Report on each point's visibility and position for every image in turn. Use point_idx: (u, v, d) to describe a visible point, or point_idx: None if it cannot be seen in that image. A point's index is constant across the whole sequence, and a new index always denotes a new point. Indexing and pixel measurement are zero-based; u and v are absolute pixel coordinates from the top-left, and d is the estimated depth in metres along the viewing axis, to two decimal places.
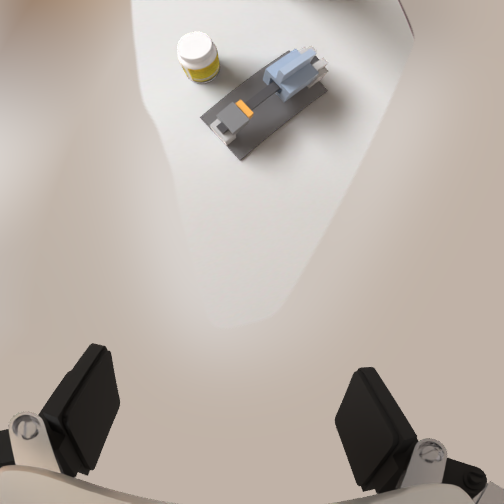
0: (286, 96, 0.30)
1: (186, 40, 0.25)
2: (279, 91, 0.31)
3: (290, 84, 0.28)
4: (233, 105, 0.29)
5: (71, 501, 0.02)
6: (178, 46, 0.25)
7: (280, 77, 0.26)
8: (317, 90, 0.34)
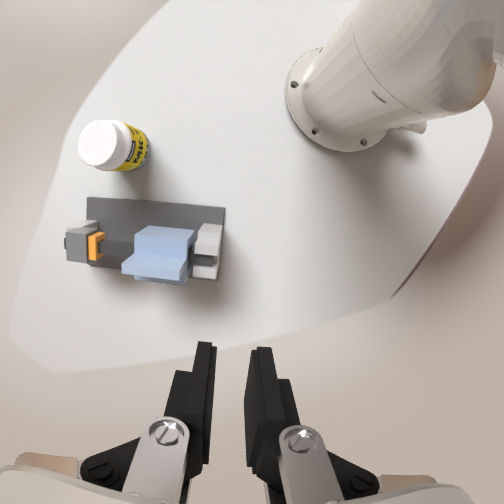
0: None
1: (95, 129, 0.19)
2: None
3: None
4: (83, 238, 0.23)
5: (71, 501, 0.02)
6: (84, 129, 0.19)
7: None
8: None
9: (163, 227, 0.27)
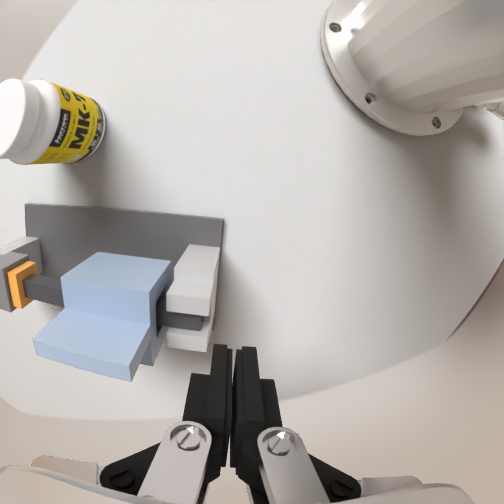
0: None
1: (0, 95, 0.08)
2: None
3: None
4: (1, 275, 0.12)
5: (71, 501, 0.02)
6: None
7: None
8: None
9: (119, 256, 0.15)
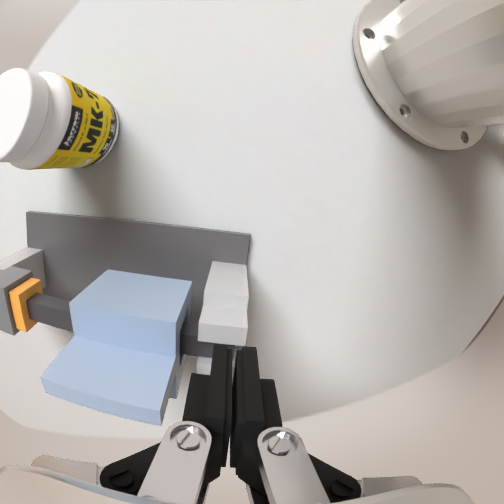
0: None
1: (1, 87, 0.06)
2: None
3: None
4: (2, 294, 0.10)
5: (71, 501, 0.02)
6: None
7: None
8: None
9: (133, 275, 0.14)
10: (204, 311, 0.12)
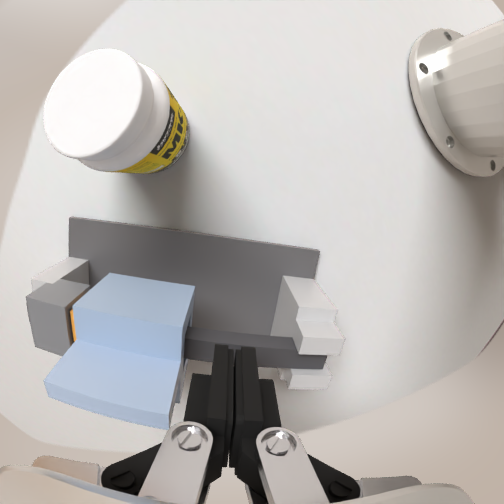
0: None
1: (89, 68, 0.07)
2: None
3: None
4: (61, 314, 0.10)
5: (71, 501, 0.02)
6: (64, 71, 0.07)
7: None
8: None
9: (135, 278, 0.14)
10: (301, 325, 0.13)
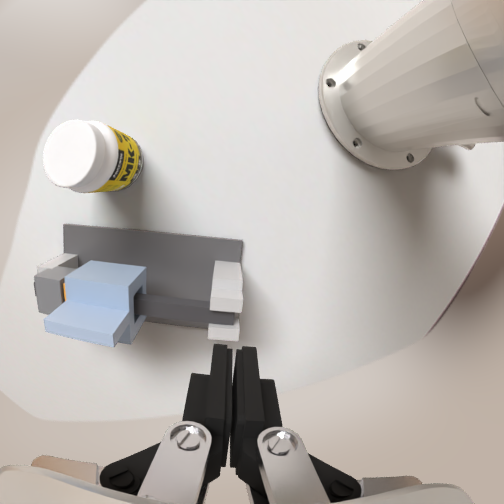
0: None
1: (66, 133, 0.13)
2: None
3: None
4: (57, 285, 0.16)
5: (71, 501, 0.02)
6: (52, 134, 0.13)
7: None
8: None
9: (107, 263, 0.19)
10: (213, 291, 0.18)
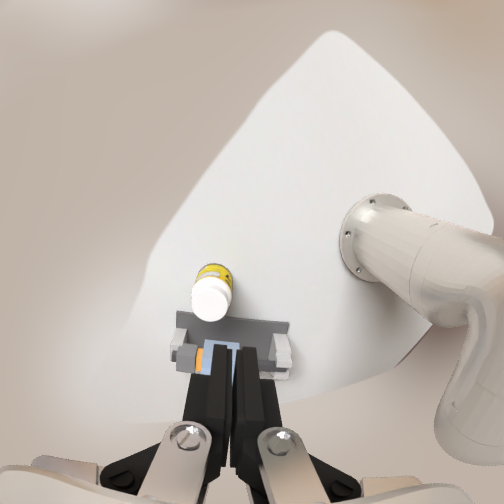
0: None
1: (207, 295, 0.30)
2: None
3: None
4: (193, 359, 0.34)
5: (71, 501, 0.02)
6: (197, 294, 0.30)
7: None
8: None
9: (216, 341, 0.37)
10: (277, 357, 0.36)
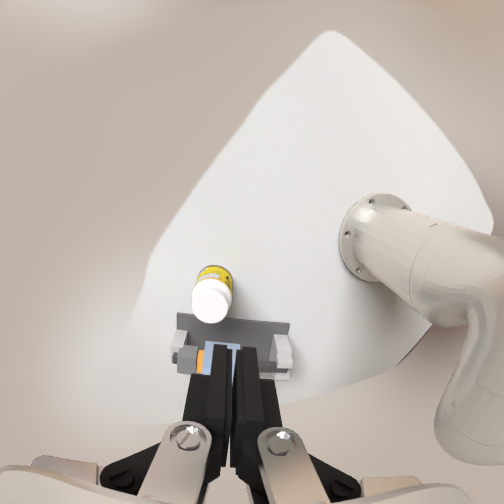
0: None
1: (208, 297, 0.30)
2: None
3: None
4: (194, 360, 0.34)
5: (71, 501, 0.02)
6: (197, 296, 0.30)
7: None
8: None
9: (217, 343, 0.37)
10: (278, 358, 0.36)
